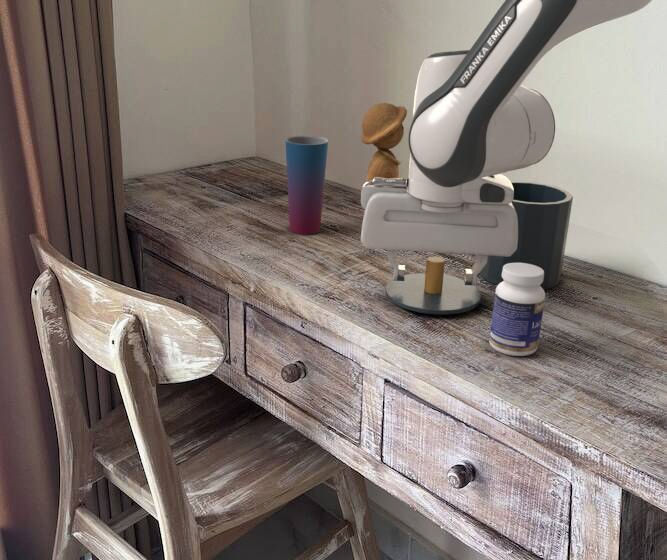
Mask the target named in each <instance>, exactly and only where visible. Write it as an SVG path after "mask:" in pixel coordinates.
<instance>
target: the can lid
mask: <svg viewBox="0 0 667 560" xmlns="http://www.w3.org/2000/svg"><path fill="white" fill-rule="evenodd" d="M445 266H446V260H445V258H443V257H441V256H435V255H434V256H428V257H427V258H426V263H425V273H419V272H418V273H409V274H405V275H404V276H405V279H404V281H393V278H392V279H390V280H389V281H388V282H387V283H386V285H385V287H384V294H385V296H386V298H387V299H388V300H389V301H390V302H391V303H393V304H394V305H396V306H398V307H400V308H403V309H405V310H409V311H412V312H415V313H420V314H427V315H441V316H442V315H457V314H461V313H466V312H469V311H472V310H474V309H475V308H477V307H478V306H479V305H480V304H481V302H482V292H481V290H480V289H479V288H477V286H473V285H465V283H464V279H462V278H458V277H456V276H450V275H448V274H447V275H445Z"/></svg>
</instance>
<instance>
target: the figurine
mask: <svg viewBox="0 0 667 560" xmlns="http://www.w3.org/2000/svg"><path fill="white" fill-rule="evenodd" d="M407 113H408V110H407V109H406V107H405V106H399V105H398V106H397V105H394V104H392V103H388V102H379V103H377V104H374V105H373V106H371V107H370V108H369V109H367V111H366V112H365V113H364V114H363V117H362V121H361V129H362V134H361V136H360V137H361V138H360V140H361V143H362V144H365V145H373V146H374V147H376V148H377V151H375V152H374V154H373V155H372V156H371V158H370V162H369V165H368V169H367V173H366V174H367V175H366V180H365V183H366V182H368V181H370V180H373V178H377V177H381V178H385V179H392V178H393V179H394V178H400V168H399V166H401V164H402V163H401V162H400V161H399V160H398V159H397V157H396V155H395V154H394V152H393V151H392V150H391V149H393V148H396V147H397V146H398V145H399V144H400V143H401V141H402V140H403V138H404V134H405V132H404V131H405V128H404V124H403V123H404V121H405V119H406V117H407V115H408V114H407ZM369 185H373V183H372V184H369Z"/></svg>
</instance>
